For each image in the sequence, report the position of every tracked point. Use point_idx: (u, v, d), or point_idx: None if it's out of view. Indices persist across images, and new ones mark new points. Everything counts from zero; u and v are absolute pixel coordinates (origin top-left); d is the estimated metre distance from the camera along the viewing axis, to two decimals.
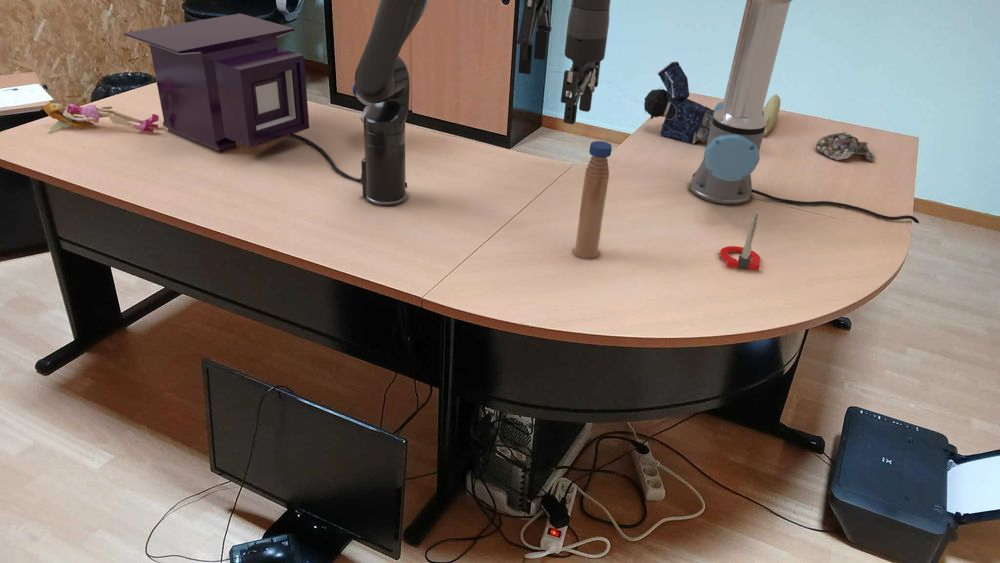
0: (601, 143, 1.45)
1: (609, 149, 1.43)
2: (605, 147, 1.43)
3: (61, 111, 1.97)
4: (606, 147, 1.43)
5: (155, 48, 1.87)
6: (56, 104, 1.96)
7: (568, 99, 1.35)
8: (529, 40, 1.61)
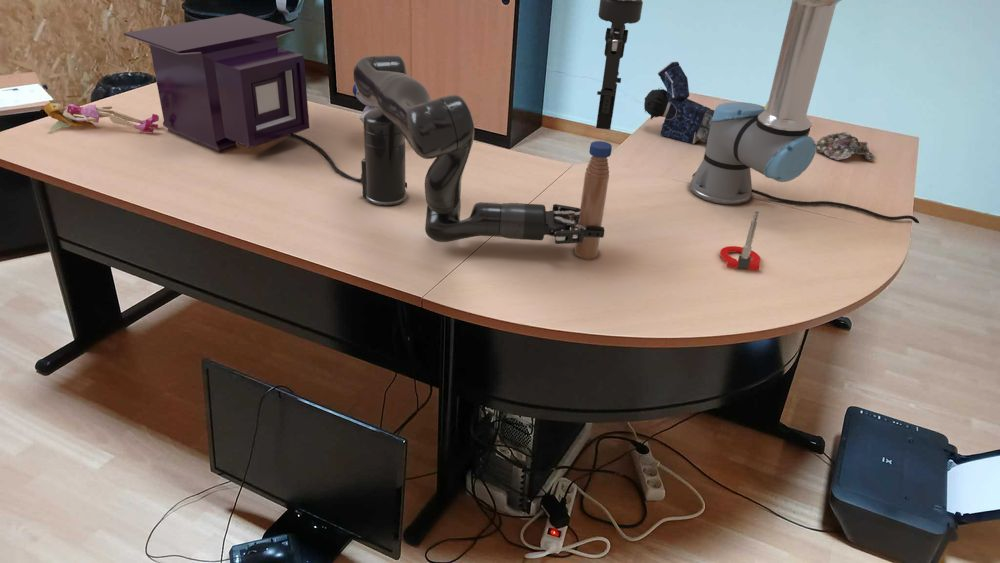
0: (601, 143, 1.45)
1: (609, 149, 1.43)
2: (605, 147, 1.43)
3: (61, 111, 1.97)
4: (606, 147, 1.43)
5: (155, 48, 1.87)
6: (56, 104, 1.96)
7: None
8: None
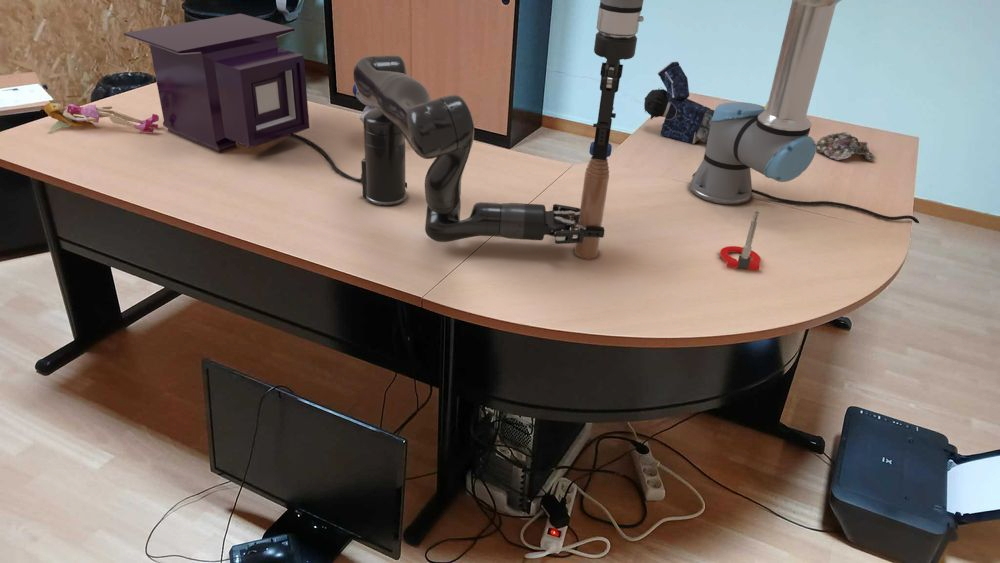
0: None
1: (609, 149, 1.43)
2: None
3: (61, 111, 1.97)
4: None
5: (155, 48, 1.87)
6: (56, 104, 1.96)
7: None
8: None
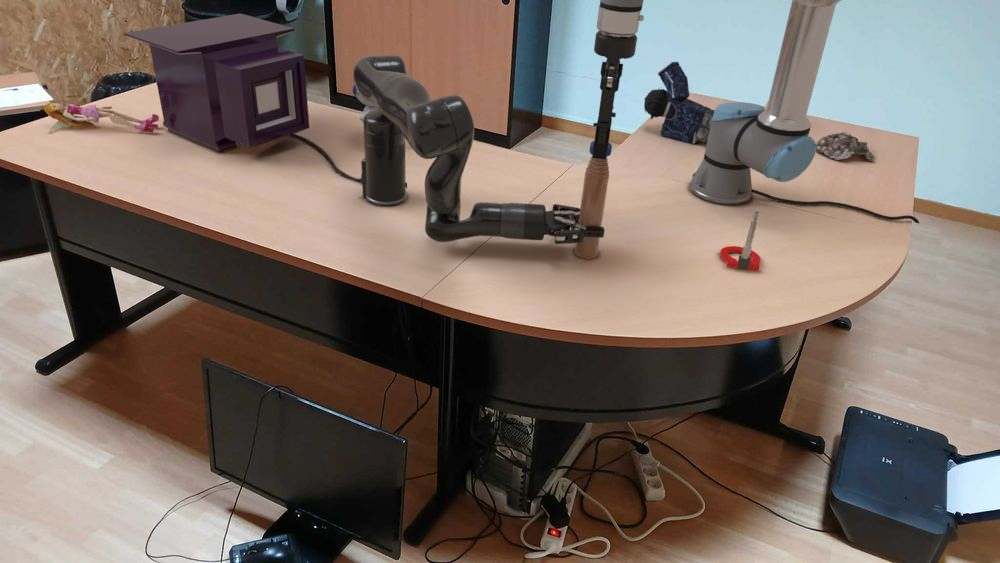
0: None
1: None
2: None
3: (61, 111, 1.97)
4: None
5: (155, 48, 1.87)
6: (56, 104, 1.96)
7: None
8: None
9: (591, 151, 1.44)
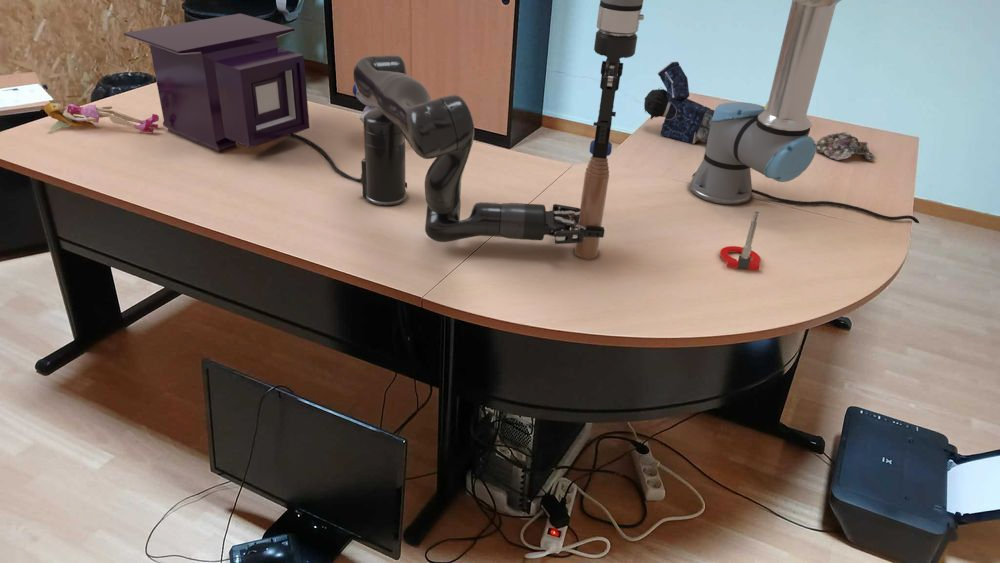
0: None
1: (591, 145, 1.44)
2: None
3: (61, 111, 1.97)
4: (593, 142, 1.44)
5: (155, 48, 1.87)
6: (56, 104, 1.96)
7: None
8: None
9: (609, 152, 1.44)
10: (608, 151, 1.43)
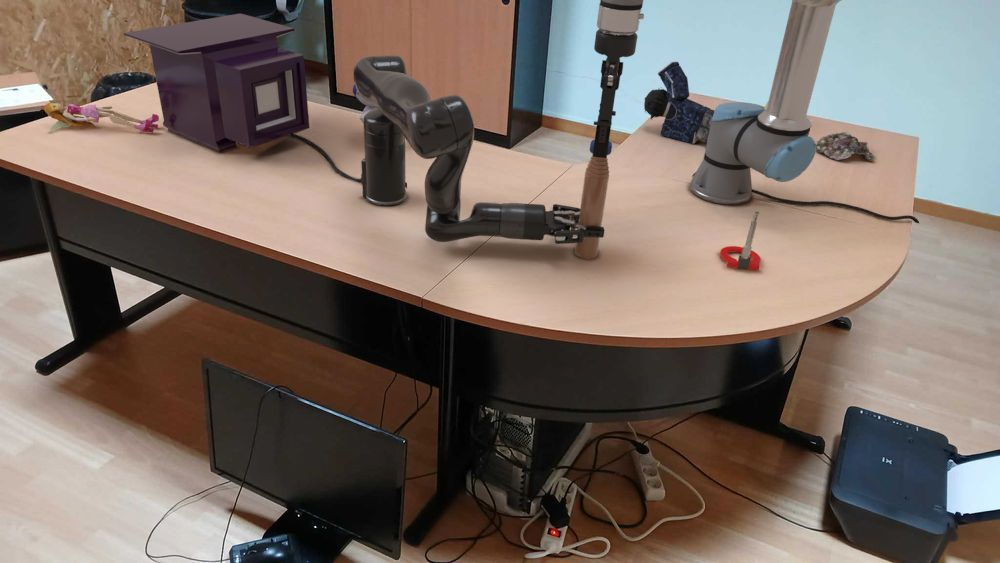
0: None
1: None
2: None
3: (61, 111, 1.97)
4: None
5: (155, 48, 1.87)
6: (56, 104, 1.96)
7: None
8: None
9: None
10: None
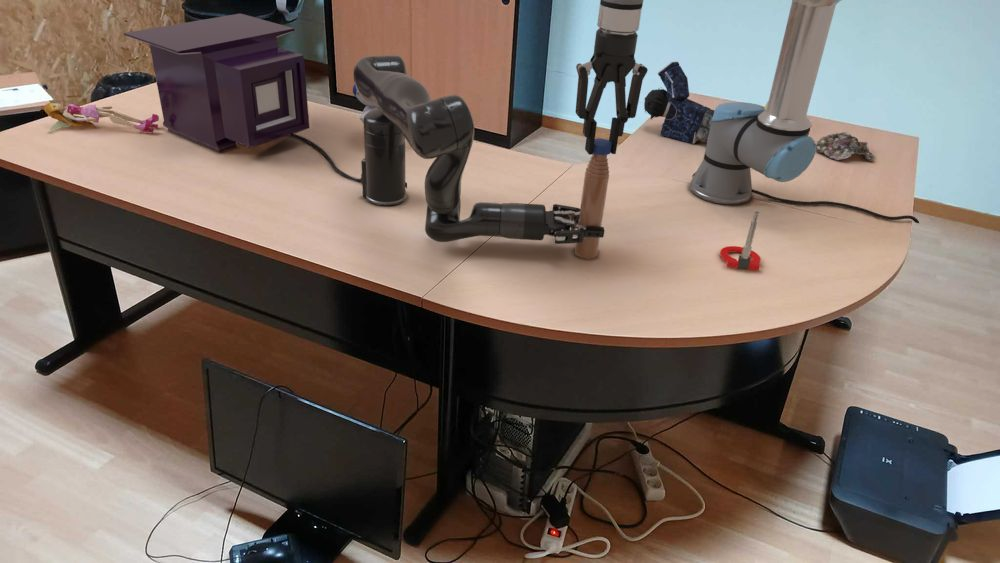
0: (597, 141, 1.44)
1: None
2: (606, 141, 1.45)
3: (61, 111, 1.97)
4: (606, 140, 1.45)
5: (155, 48, 1.87)
6: (56, 104, 1.96)
7: None
8: (582, 114, 1.39)
9: None
10: None
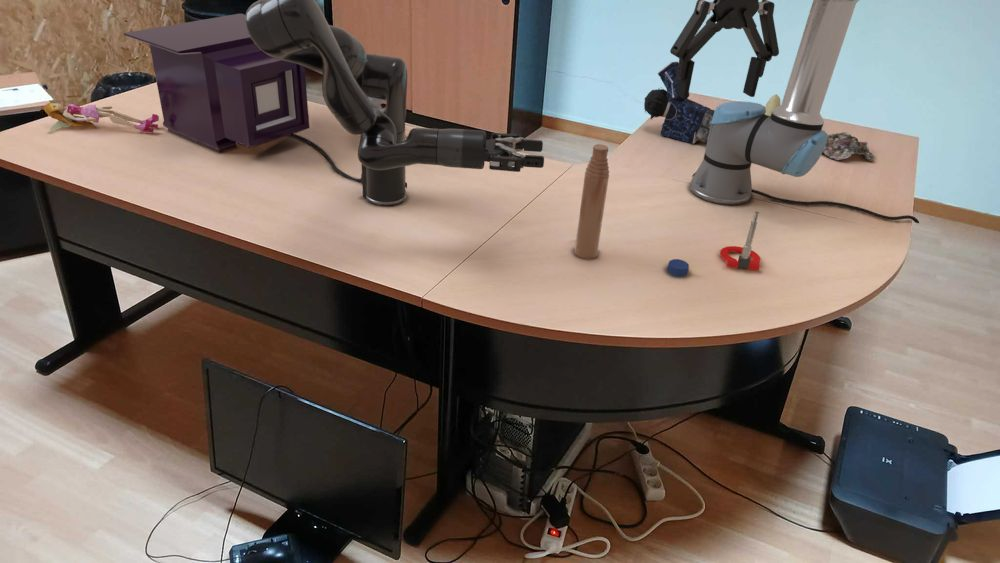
0: (674, 263, 1.52)
1: None
2: (683, 262, 1.53)
3: (61, 111, 1.97)
4: (682, 261, 1.53)
5: (155, 48, 1.87)
6: (56, 104, 1.96)
7: None
8: (680, 52, 1.25)
9: (668, 269, 1.52)
10: (668, 267, 1.52)
